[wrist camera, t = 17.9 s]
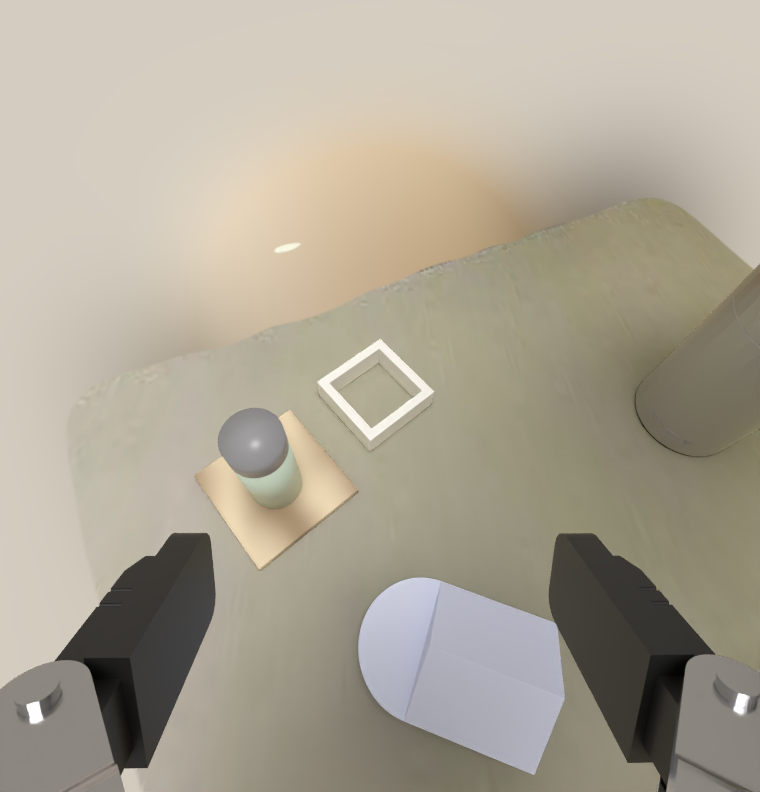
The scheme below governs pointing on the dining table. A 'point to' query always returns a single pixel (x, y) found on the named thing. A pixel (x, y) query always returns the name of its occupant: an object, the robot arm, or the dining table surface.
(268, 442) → the plug
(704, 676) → the robot arm
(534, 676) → the wedge on round base
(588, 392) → the dining table surface
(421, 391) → the collar
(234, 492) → the pad
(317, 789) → the dining table surface
